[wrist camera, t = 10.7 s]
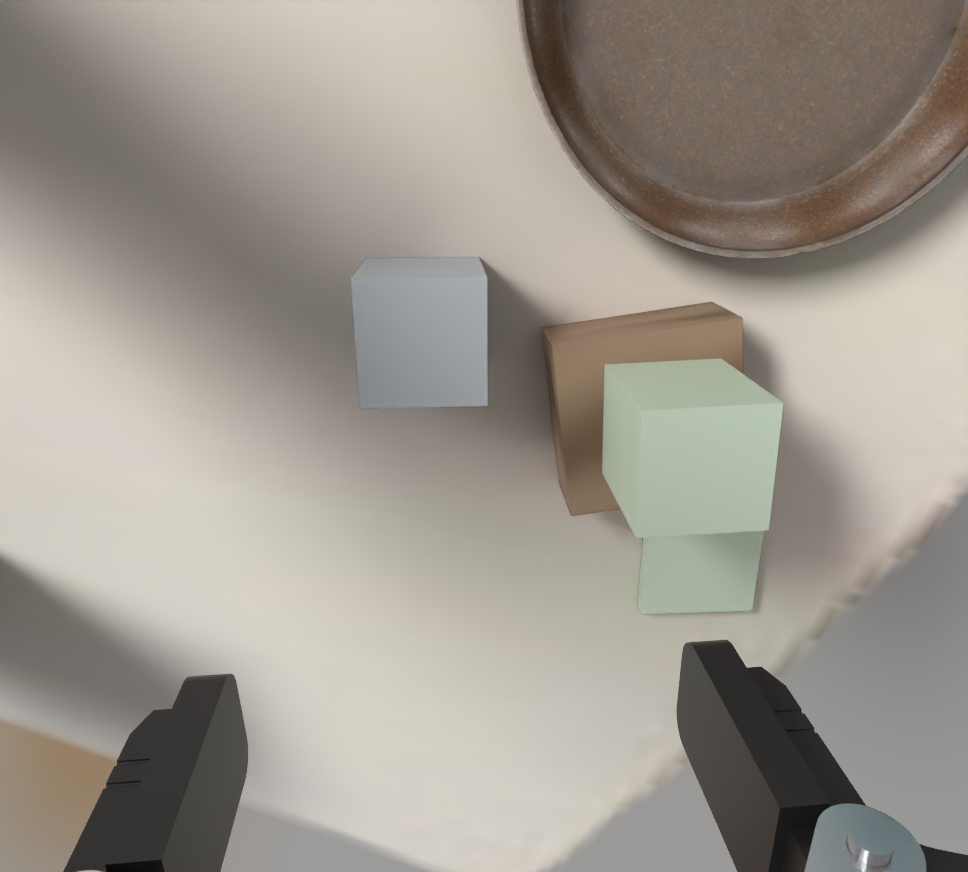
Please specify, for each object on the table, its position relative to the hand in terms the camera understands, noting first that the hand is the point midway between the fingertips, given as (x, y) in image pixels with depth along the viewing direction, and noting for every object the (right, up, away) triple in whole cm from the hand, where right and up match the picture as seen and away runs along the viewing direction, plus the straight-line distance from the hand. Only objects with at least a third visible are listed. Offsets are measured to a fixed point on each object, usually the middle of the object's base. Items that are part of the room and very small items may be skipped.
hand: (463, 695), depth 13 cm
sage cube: (+8, +5, +19) cm, 21 cm away
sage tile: (+12, -2, +25) cm, 28 cm away
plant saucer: (+12, +23, +17) cm, 31 cm away
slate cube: (-2, +10, +20) cm, 23 cm away
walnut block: (+8, +7, +23) cm, 25 cm away
